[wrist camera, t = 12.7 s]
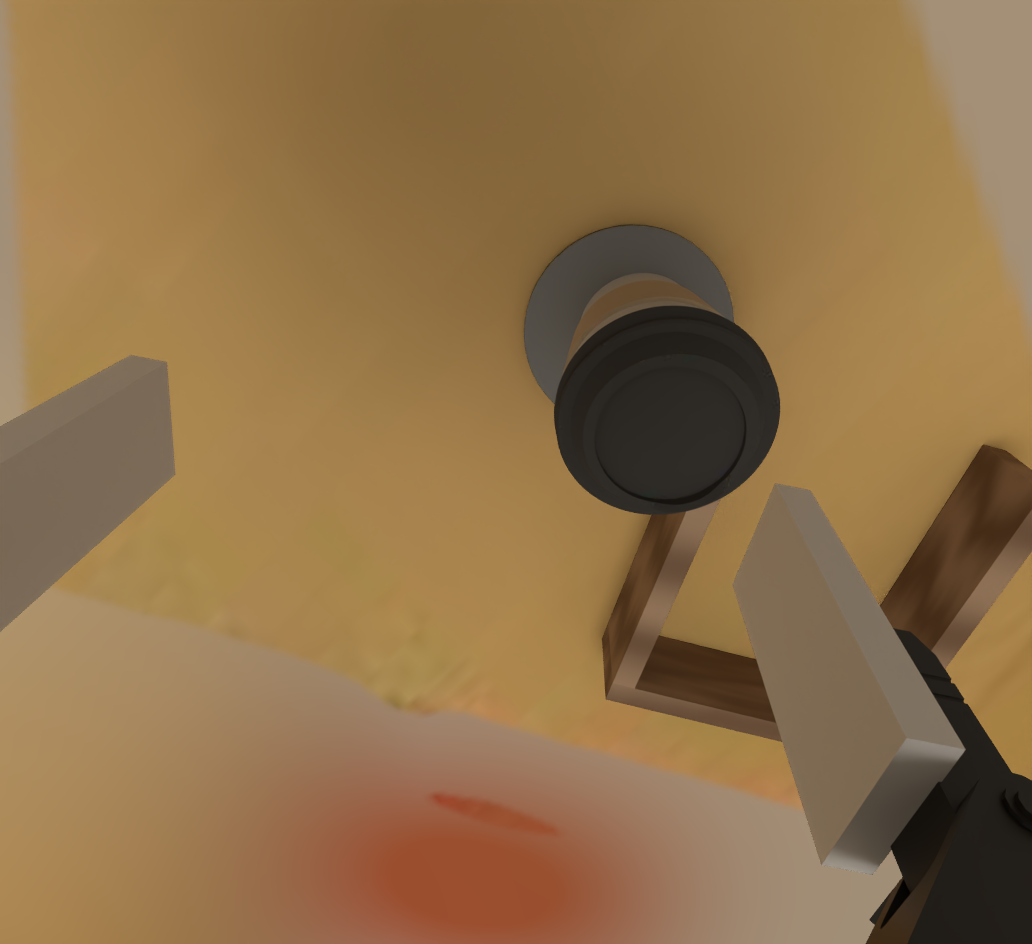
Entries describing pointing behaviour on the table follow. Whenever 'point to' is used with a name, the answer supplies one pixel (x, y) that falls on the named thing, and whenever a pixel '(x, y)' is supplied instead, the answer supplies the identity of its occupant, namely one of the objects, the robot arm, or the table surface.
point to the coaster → (592, 269)
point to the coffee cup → (662, 399)
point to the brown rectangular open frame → (908, 606)
